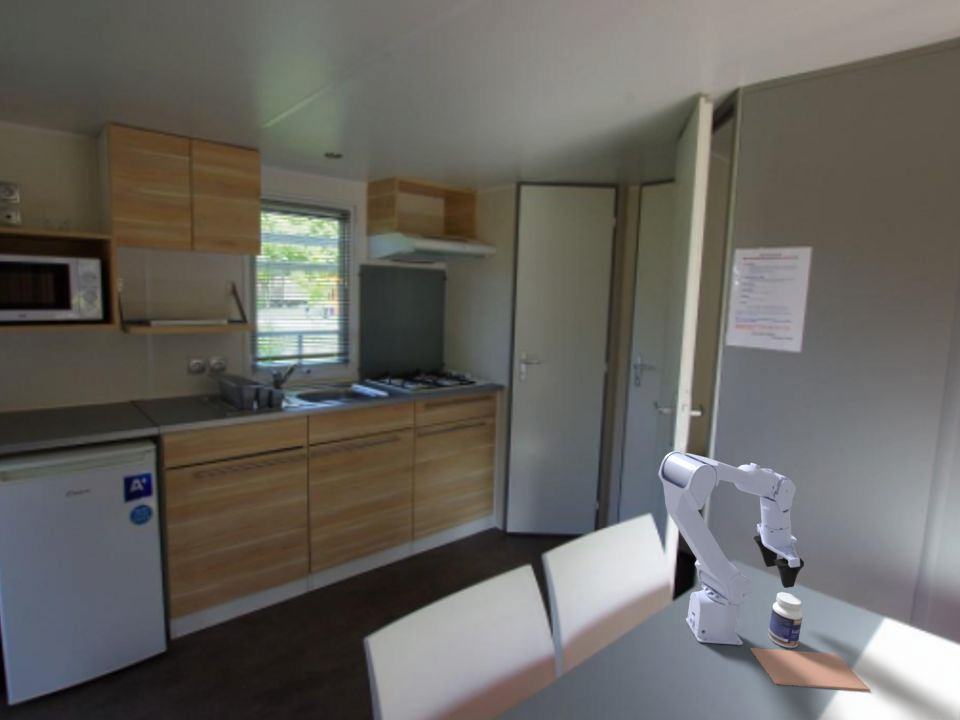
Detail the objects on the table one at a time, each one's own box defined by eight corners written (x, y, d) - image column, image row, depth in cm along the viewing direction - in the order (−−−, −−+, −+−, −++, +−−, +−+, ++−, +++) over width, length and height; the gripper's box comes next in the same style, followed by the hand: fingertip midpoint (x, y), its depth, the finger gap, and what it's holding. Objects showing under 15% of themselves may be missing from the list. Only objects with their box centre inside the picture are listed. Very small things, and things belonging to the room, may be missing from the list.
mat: (775, 684, 103) (775, 682, 103) (750, 649, 112) (750, 647, 112) (869, 691, 102) (869, 689, 102) (836, 655, 112) (836, 653, 112)
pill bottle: (796, 653, 112) (802, 609, 111) (765, 641, 116) (772, 598, 114) (799, 639, 117) (806, 597, 116) (770, 628, 120) (776, 587, 119)
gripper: (813, 538, 112) (816, 593, 115) (777, 504, 126) (780, 554, 129) (779, 543, 112) (782, 598, 115) (746, 508, 127) (750, 558, 130)
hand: (779, 575), depth 122 cm, fingers open, 7 cm apart
